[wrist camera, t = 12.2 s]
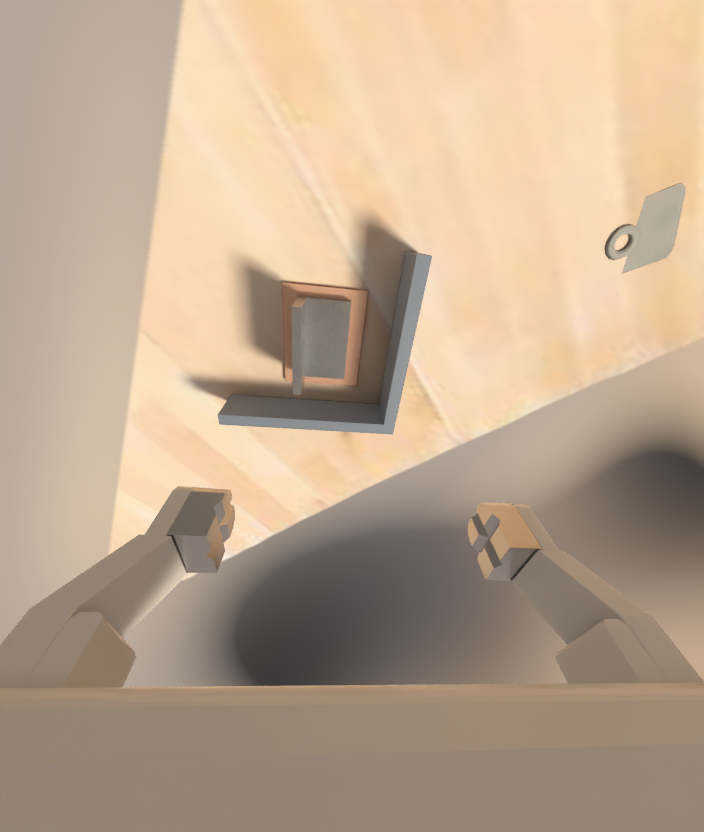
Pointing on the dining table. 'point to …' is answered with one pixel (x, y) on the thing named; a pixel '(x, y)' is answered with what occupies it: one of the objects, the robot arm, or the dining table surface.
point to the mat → (354, 335)
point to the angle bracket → (319, 338)
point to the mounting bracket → (650, 230)
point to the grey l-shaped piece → (347, 413)
